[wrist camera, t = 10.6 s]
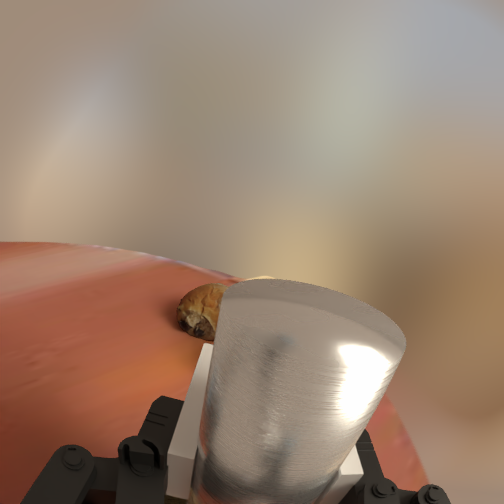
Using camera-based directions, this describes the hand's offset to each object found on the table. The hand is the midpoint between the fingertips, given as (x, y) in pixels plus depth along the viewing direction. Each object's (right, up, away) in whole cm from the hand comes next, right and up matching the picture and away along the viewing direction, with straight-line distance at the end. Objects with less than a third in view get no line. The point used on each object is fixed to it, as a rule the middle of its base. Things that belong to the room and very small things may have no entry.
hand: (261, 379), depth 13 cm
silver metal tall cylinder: (-2, -9, -3) cm, 10 cm away
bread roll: (-6, -5, +29) cm, 30 cm away
